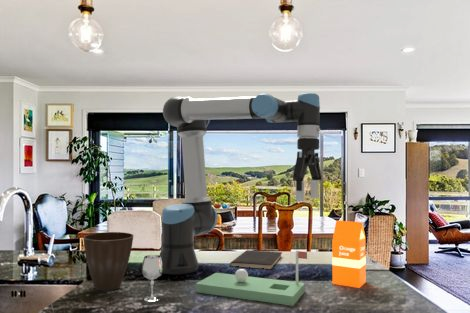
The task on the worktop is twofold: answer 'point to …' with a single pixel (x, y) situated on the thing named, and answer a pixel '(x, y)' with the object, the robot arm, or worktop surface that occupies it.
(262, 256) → the hardcover book
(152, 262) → the wineglass
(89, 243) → the plant pot
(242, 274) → the ball
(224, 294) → the putting deck
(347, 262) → the orange juice
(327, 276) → the worktop surface
